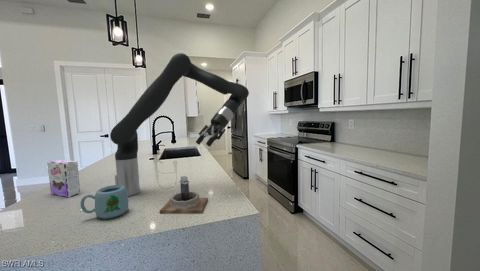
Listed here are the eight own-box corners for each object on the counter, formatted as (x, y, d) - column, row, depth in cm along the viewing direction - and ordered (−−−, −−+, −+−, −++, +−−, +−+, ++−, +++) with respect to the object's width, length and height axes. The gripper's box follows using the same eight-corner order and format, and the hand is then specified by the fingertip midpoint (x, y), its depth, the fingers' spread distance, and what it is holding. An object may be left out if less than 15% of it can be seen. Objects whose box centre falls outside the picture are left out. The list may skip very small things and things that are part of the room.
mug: (80, 227, 71) (77, 199, 70) (83, 214, 80) (81, 189, 79) (130, 215, 78) (128, 189, 77) (128, 205, 88) (126, 181, 87)
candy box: (50, 194, 102) (46, 161, 101) (64, 190, 108) (60, 159, 106) (67, 198, 97) (63, 163, 96) (81, 193, 103) (77, 160, 101)
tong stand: (159, 213, 79) (159, 202, 79) (171, 200, 91) (170, 191, 91) (201, 213, 79) (201, 202, 78) (207, 200, 90) (207, 190, 90)
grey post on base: (175, 203, 85) (173, 177, 84) (188, 199, 89) (187, 173, 88) (182, 208, 81) (180, 180, 80) (195, 203, 85) (194, 176, 84)
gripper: (209, 112, 103) (188, 137, 97) (227, 112, 93) (206, 140, 86) (217, 123, 107) (199, 147, 101) (236, 123, 97) (216, 151, 90)
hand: (202, 144), depth 94 cm, fingers open, 8 cm apart
